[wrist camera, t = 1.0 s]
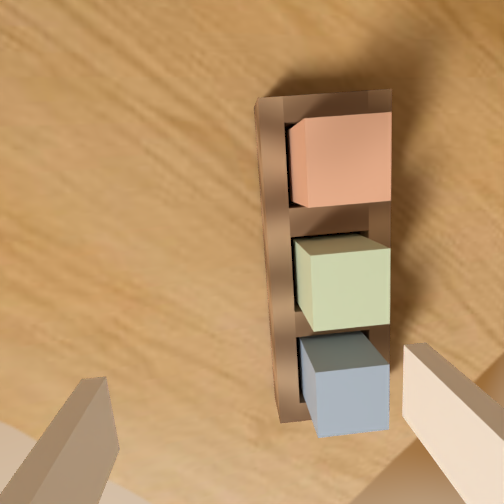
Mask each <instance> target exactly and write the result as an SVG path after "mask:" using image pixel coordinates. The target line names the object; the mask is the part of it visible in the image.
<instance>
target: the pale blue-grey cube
mask: <svg viewBox="0 0 504 504" xmlns="http://www.w3.org/2000/svg"><path fill="white" fill-rule="evenodd" d="M298 344H299V363H300V381H301V390H302V393H303V395H304V398H305V401H306V404H307V407H308V410H309V413H310V416H311V419H312V421H313V424H314V427H315V430H316V433H317V436H318V438H321V437H330V436H338V435H346V434H355V433H363V432H371V431H380V430H388V429H389V371H390V364H389V363H388V362H387V361H386V360H385V359H384V357H383V356H382V355H381V354H380V353H379V352H378V350H377V349H376V348H375V347H374V346H373V345H372V343H371V342H370V341H369V340H368V339H367V338H366V336H365V335H364V334H363V333H362V332H361V331H351V332H341V333H332V334H322V335H313V336H303V337H298Z"/></svg>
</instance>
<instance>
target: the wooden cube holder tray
mask: <svg viewBox="0 0 504 504" xmlns="http://www.w3.org/2000/svg"><path fill="white" fill-rule="evenodd" d="M384 112H392V89H380V90H366V91H351V92H337V93H322V94H308V95H294V96H279V97H265V98H258V99H257V101H256V104H255V106H254V113H255V127H256V141H257V155H258V168H259V182H260V196H261V210H262V224H263V238H264V251H265V265H266V279H267V293H268V307H269V321H270V334H271V348H272V362H273V376H274V390H275V400H276V405H277V409H278V414H279V419H280V423H288V422H297V421H305V420H312V419H311V416H310V413H309V410H308V407H307V404H306V401H305V398H304V395H303V393H302V390H301V381H300V379H298V365H297V347H296V337H303V336H313V335H322V334H332V333H341V332H351V331H361V332H362V333H363V334H364V335H365V336H366V338H367V339H368V340H369V341H370V342H371V343H372V345H373V346H374V347H375V348H376V349H377V350H378V352H379V353H380V354H381V355H382V356H383V357H384V359H385V360H386V361H387V362H388V363H389V364H390V324H383V325H373V326H364V327H354V328H345V329H335V330H325V331H316V332H314V331H313V330H312V328H311V326H310V324H309V322H308V321H307V319H306V317H305V315H304V313H303V312H302V310H301V308H300V306H299V304H298V303H297V301H296V297H294V293H293V275H292V256H291V238H290V237H298V236H309V235H320V234H331V233H342V232H353V233H357V234H360V235H362V236H364V237H366V238H369V239H371V240H373V241H375V242H377V243H380V244H382V245H384V246H386V247H389V248H391V201H382V202H370V203H359V204H347V205H335V206H324V207H312V208H308V207H305V206H303V205H300V204H298V203H296V204H289V202H288V184H287V166H286V148H285V130H284V128H292V127H293V126H295V125H296V124H297V123H299V122H300V121H301V120H303V119H304V118H316V117H329V116H343V115H357V114H370V113H384ZM391 157H392V131H391ZM390 275H391V251H390ZM389 393H390V371H389Z"/></svg>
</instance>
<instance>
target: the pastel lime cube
mask: <svg viewBox="0 0 504 504" xmlns="http://www.w3.org/2000/svg"><path fill="white" fill-rule="evenodd" d="M293 251H294V270H295V288H296V301H297V303H298V304H299V306H300V308H301V310H302V312H303V313H304V315H305V317H306V319H307V321H308V322H309V324H310V326H311V328H312V330H313V331H314V332H316V331H325V330H335V329H345V328H354V327H364V326H373V325H383V324H390V251H391V248H389V247H386V246H384V245H382V244H380V243H377V242H375V241H373V240H371V239H369V238H366V237H364V236H362V235H360V234H357V233H352V234H341V235H330V236H319V237H308V238H297V239H293Z"/></svg>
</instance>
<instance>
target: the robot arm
mask: <svg viewBox="0 0 504 504" xmlns="http://www.w3.org/2000/svg"><path fill="white" fill-rule="evenodd" d="M402 416H403V417H404V419H405V420H406V422H407V423H408V424H409V426H410V427H411V428H412V430H413V431H414V433H415V434H416V435H417V437H418V438H419V439H420V441H421V442H422V444H423V445H424V446H425V448H426V449H427V450H428V452H429V453H430V455H431V456H432V457H433V459H434V460H435V461H436V463H437V464H438V466H439V467H440V468H441V470H442V471H443V472H444V474H445V475H446V477H447V478H448V479H449V481H450V482H451V483H452V485H453V486H454V488H455V489H456V490H457V492H458V493H459V494H460V496H461V497H462V498H463V500H464V501H465V503H466V504H504V408H503V407H502V406H500V405H499V404H498V403H497V402H496V401H494V400H493V399H492V398H491V397H490V396H489V395H488V394H486V393H485V392H484V391H483V390H482V389H480V388H479V387H478V386H477V385H476V384H474V383H473V382H472V381H471V380H470V379H469V378H467V377H466V376H465V375H464V374H463V373H461V372H460V371H459V370H458V369H457V368H456V367H454V366H453V365H452V364H451V363H450V362H448V361H447V360H446V359H445V358H444V357H442V356H441V355H440V354H439V353H438V352H437V351H435V350H434V349H433V348H432V347H431V346H429V345H428V344H427V343H417V344H408V345H404V365H403V414H402ZM119 450H120V448H119V443H118V438H117V432H116V427H115V422H114V416H113V411H112V406H111V400H110V395H109V390H108V384H107V379H106V377H97V378H88V379H82V380H81V381H80V382H79V384H78V385H77V387H76V388H75V390H74V391H73V392H72V394H71V395H70V397H69V398H68V399H67V401H66V402H65V404H64V405H63V406H62V408H61V409H60V411H59V412H58V413H57V415H56V416H55V418H54V419H53V421H52V422H51V423H50V425H49V426H48V428H47V429H46V430H45V432H44V433H43V435H42V436H41V437H40V439H39V440H38V442H37V443H36V444H35V446H34V447H33V449H32V450H31V452H30V453H29V454H28V456H27V457H26V459H25V460H24V461H23V463H22V464H21V466H20V467H19V469H18V470H17V471H16V473H15V474H14V476H13V477H12V478H11V480H10V481H9V483H8V484H7V485H6V487H5V488H4V490H3V491H2V492H1V494H0V504H98V503H99V500H100V498H101V496H102V493H103V490H104V488H105V485H106V483H107V480H108V478H109V475H110V473H111V470H112V467H113V465H114V462H115V460H116V457H117V455H118V452H119Z"/></svg>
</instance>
